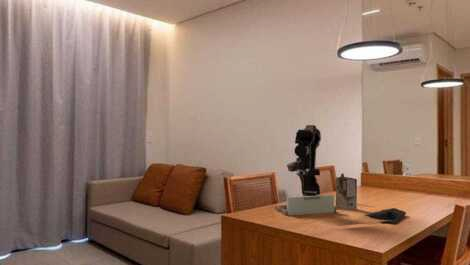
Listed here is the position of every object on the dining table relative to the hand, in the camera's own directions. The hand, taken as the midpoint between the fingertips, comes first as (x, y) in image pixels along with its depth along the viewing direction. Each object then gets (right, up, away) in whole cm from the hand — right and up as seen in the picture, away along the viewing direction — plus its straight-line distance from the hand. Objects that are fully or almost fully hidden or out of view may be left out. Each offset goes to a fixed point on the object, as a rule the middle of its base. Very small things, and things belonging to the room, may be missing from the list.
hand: (304, 188), depth 166 cm
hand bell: (+27, -12, +28) cm, 41 cm away
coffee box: (+23, -12, +8) cm, 27 cm away
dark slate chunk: (+36, -13, -7) cm, 39 cm away
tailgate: (+2, -11, -7) cm, 13 cm away
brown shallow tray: (0, -12, -1) cm, 12 cm away
